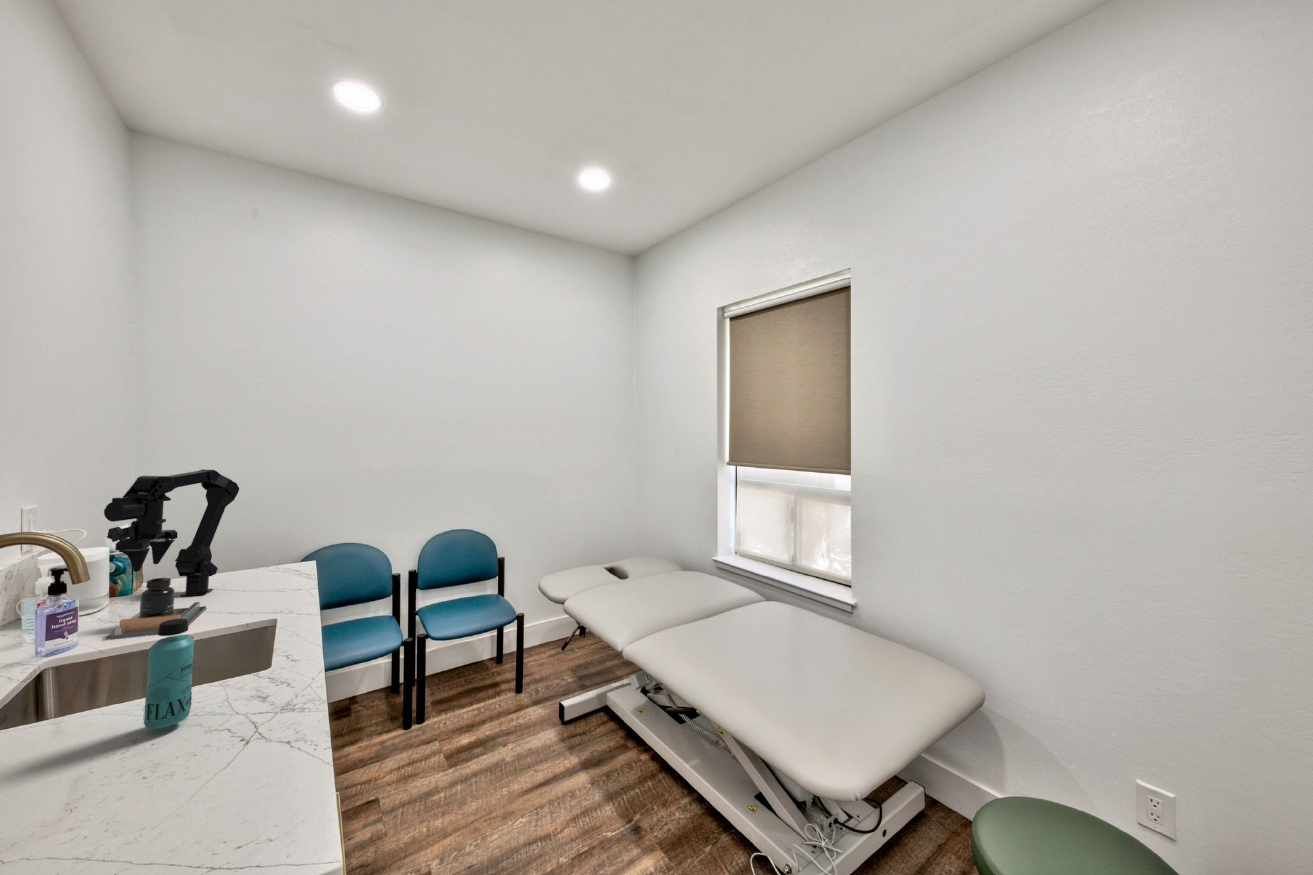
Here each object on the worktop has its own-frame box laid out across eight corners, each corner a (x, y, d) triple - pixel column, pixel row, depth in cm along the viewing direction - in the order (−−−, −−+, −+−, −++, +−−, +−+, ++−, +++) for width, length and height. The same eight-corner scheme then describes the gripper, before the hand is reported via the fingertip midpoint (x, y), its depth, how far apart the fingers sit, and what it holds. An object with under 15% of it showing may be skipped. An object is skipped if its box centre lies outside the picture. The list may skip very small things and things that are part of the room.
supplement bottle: (176, 621, 142) (178, 579, 142) (142, 628, 136) (144, 584, 136) (169, 616, 145) (171, 575, 146) (136, 622, 140) (138, 579, 140)
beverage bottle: (135, 741, 89) (141, 629, 89) (151, 722, 95) (157, 617, 95) (183, 732, 92) (189, 624, 92) (196, 714, 98) (202, 613, 98)
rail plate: (140, 615, 148) (140, 601, 148) (205, 609, 155) (206, 596, 155) (106, 639, 130) (107, 624, 130) (182, 631, 137) (183, 617, 137)
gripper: (135, 512, 159) (132, 561, 158) (92, 521, 141) (89, 576, 141) (179, 512, 162) (176, 560, 162) (143, 521, 145) (139, 574, 145)
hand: (146, 567), depth 152 cm, fingers open, 9 cm apart
